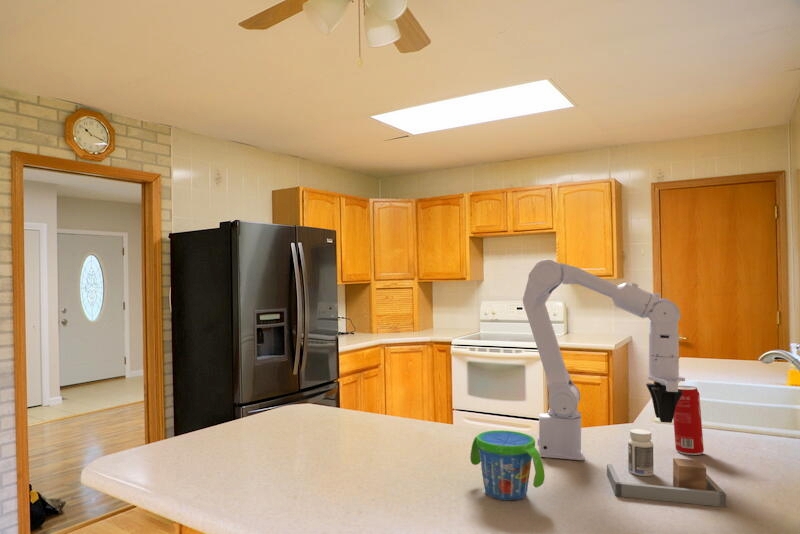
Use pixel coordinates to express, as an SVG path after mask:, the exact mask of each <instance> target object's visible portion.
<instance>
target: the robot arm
mask: <svg viewBox="0 0 800 534" xmlns="http://www.w3.org/2000/svg"><path fill="white" fill-rule="evenodd" d="M561 284H562V285H580V286H582V287H584V288H586V289H589V290H592V291H594V292H596V293H599V294H601V295H604V296H606V297H608V298H611V300H612V302H613V305H614V307H616V308H617V309H621V310H623V311H625V312H628V313H630V314H632V315H634V316H637V317H639V318H642V319H645V318H648V319H649V321H650V322H649V323H650V324H649V326H650V327H649V330H650V331H649V333H648V375H647V379H648V380H649V381H653V383H652V382H651V383H649V382H648V383H646V384H645V385H646V387H647V389H648V392H649V394H650V397H651V401H652V404H653V405H652V406H653V409H654V415H655V417H656V418H657V419H659V420H660V421H659V422H660V423H665V424H666V423H669V424H670V423H671V424H673V423H672V422H673V421H674V420H673V417H674V412H675V408H676V405H677V403H678V400H679V399H680V397H681V396H682V393H683V391H681V390H678V386H679V383H680V382H685V381H686V378H685V377H684V376H680V370H679V369H680V364H679V363H680V358H679V357H680V350H679V349H680V343H679V342H680V337H679V336H680V335H679V333H678V332H679V324H678V323H679V321H680V319H681V317H682V313H680V312H681V311H680V309H679V306H677V304H676V303H675V302H673V301H672V300H669V299H667V298H660V297H661V294H660V293H658V292H655V293H652V292H650V291H647V290H645V289H642V288H640V287H639V284H638V283H635V282H632V283H629V282H624V283H621V284H618V285H617V284H615V283H613V282H610V281H608V280H607V279H604V278H602V277H599V276H597V275H595V274H593V273H591V272H589V271H586V270H584V269H582V268H580V267H577V266H574V265H569V264H566V263H562V262H557V261H555V260H552V259H547V258H545V259H542V260H539V261H538V262H537V263H536V264H535V265H534V266H533V267H532V269H531V270H530V272H529V273H528V277H527V283H526V286H525V290H524V293H523V297H522V304H523V308H524V310H525V314H526V317H527V320H528V323H529V326H530V329H531V332H532V335H533V338H534V342H535V345H536V348H537V351H538V354H539V357H540V360H541V364H542V367H543V370H544V373H545V377H546V387H547V390H548V399H547V404H548V407H549V408H548V410H547V412H540V413H538V437H537V447H538V452H539V454H540V457H541V458H550V459H563V460H564V459H565V460H575V461H585V456H584V453H583V450H582V412H580V410H578V407H579V402H580V401H581V392H580V389H579V388H578V387H577V385H575V384H574V382H573V380H572V378H571V375H570V373H569V371H568V370H567V367H566V363H565V361H564V357H563V355H562V351H561V349H560V345H559V341H558V340H557V336H556V333H555V330H554V327H553V324H552V321H551V317H550V315H549V311H548V308H547V305H546V303H547V302H548V300H549V298H550V297H551V294H552V293H553V291H555V290H556V289H557V288H558V287H559V286H560V285H561Z"/></svg>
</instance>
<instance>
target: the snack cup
mask: <svg viewBox="0 0 800 534" xmlns="http://www.w3.org/2000/svg"><path fill="white" fill-rule="evenodd" d="M469 458H470V459H469V460H470V462H471V464H472V465H473V466H476V465H479V464H480V466H481V475H482V481H483V486H484V492H485V493H486V495H489V497H491V498H495V499H499V500H501V501H516V500H522V499H523V498H525V496H526V494H527V493H528V485H529V482H530V481H529V480H530V474H531V467H532V463H533V466H534V470H535V471H534V473H535V474H534V478H533V484H532V485H533V487H534V488H539V487H541V486H542V485H543V484H544V482H545V469H544V464H543V460H542V457H540V454H539V450H538V449H537V448H536V439H535V438H534V437H533V436H532V435H529V434H527V433H523V432H519V431H512V430H488V431H483V432H481V433H478V434H477V435H476V436H475V437H474V439H473V441H472V444H471V450H470V457H469ZM532 461H533V462H532Z"/></svg>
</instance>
